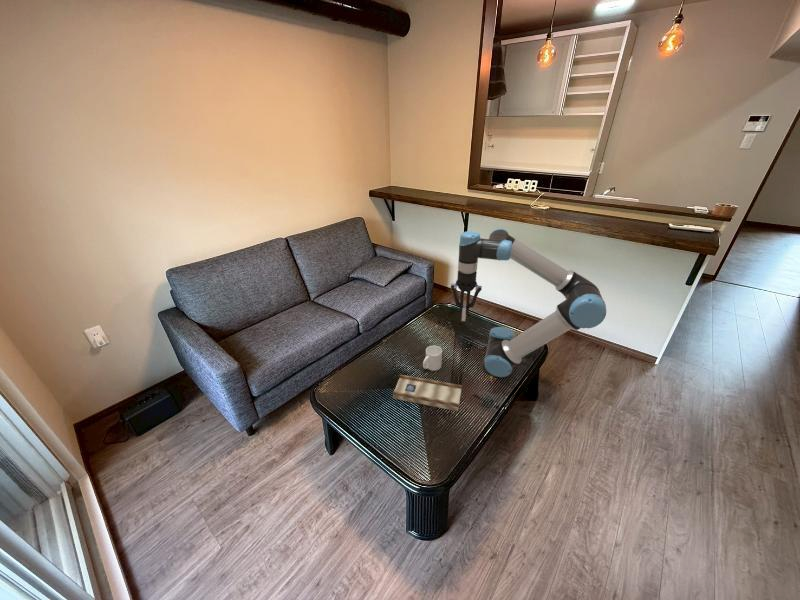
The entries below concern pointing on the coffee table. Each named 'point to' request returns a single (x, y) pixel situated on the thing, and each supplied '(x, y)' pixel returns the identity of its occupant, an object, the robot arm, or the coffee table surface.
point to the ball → (410, 389)
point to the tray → (428, 392)
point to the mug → (433, 358)
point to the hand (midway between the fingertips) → (463, 319)
